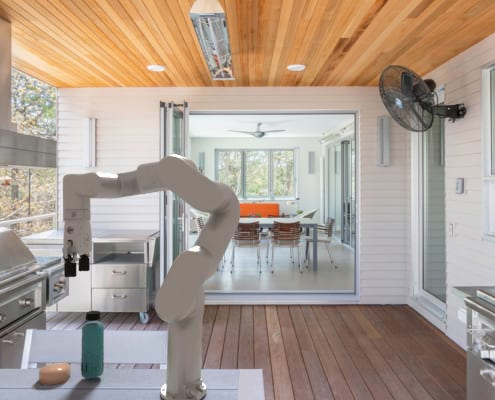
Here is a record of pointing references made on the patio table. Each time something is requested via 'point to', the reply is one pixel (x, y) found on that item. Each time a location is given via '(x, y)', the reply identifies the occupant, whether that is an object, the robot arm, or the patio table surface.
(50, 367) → the tan rounded flat piece
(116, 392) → the patio table surface
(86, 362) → the beverage bottle
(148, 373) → the patio table surface
